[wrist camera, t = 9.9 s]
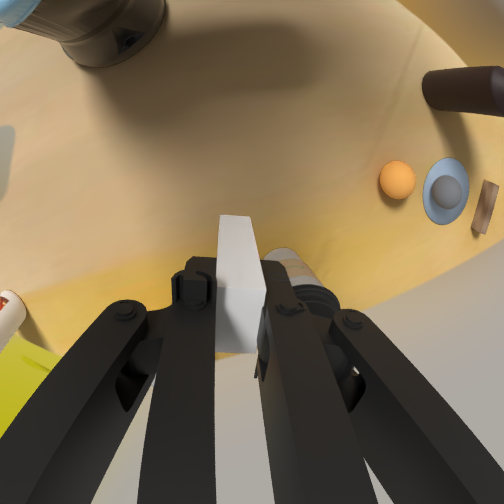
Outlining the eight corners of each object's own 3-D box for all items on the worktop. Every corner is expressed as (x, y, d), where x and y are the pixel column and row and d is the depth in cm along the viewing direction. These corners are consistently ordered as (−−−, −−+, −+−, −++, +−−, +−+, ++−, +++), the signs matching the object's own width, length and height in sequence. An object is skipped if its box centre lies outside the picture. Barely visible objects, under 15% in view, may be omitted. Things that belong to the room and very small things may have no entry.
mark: (432, 148, 36) (432, 148, 36) (474, 168, 38) (474, 169, 37) (414, 217, 41) (415, 218, 41) (457, 228, 42) (458, 229, 42)
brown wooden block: (483, 179, 39) (494, 183, 36) (489, 182, 39) (499, 186, 36) (470, 227, 43) (480, 233, 40) (475, 229, 43) (485, 234, 40)
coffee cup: (282, 223, 40) (310, 277, 26) (323, 263, 43) (361, 324, 29) (236, 268, 42) (241, 336, 29) (279, 302, 45) (299, 372, 32)
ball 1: (427, 172, 31) (412, 166, 36) (394, 157, 31) (381, 152, 36) (414, 209, 34) (400, 198, 39) (380, 196, 34) (370, 186, 39)
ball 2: (457, 178, 32) (470, 184, 34) (430, 168, 36) (445, 174, 39) (448, 212, 34) (461, 215, 36) (422, 200, 39) (437, 204, 41)
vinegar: (416, 95, 32) (518, 98, 14) (426, 62, 30) (523, 54, 12) (444, 118, 34) (541, 135, 16) (453, 86, 31) (547, 92, 13)
